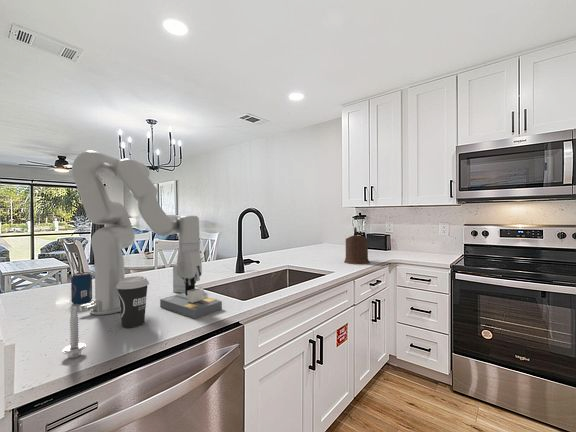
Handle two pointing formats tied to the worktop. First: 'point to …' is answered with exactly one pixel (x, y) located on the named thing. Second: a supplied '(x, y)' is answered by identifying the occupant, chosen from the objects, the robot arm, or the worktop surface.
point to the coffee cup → (132, 300)
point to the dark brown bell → (356, 249)
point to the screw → (74, 337)
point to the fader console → (190, 305)
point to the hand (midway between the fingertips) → (190, 294)
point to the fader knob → (195, 295)
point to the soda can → (81, 288)
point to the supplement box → (177, 281)
